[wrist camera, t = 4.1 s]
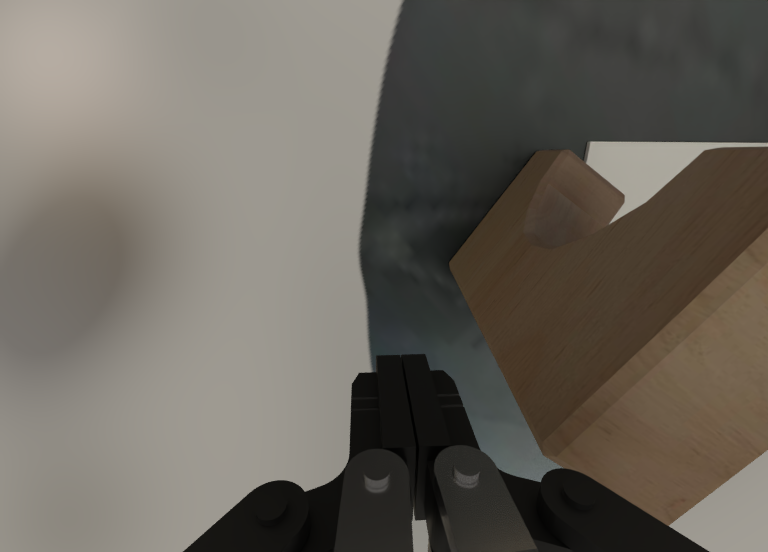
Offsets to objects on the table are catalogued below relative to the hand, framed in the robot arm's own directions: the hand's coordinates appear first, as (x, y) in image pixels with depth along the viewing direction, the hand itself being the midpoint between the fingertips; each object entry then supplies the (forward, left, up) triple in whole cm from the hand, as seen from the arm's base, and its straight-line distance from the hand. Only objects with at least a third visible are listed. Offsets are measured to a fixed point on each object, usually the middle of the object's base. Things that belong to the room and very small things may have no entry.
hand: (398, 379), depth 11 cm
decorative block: (-11, 0, -18) cm, 21 cm away
